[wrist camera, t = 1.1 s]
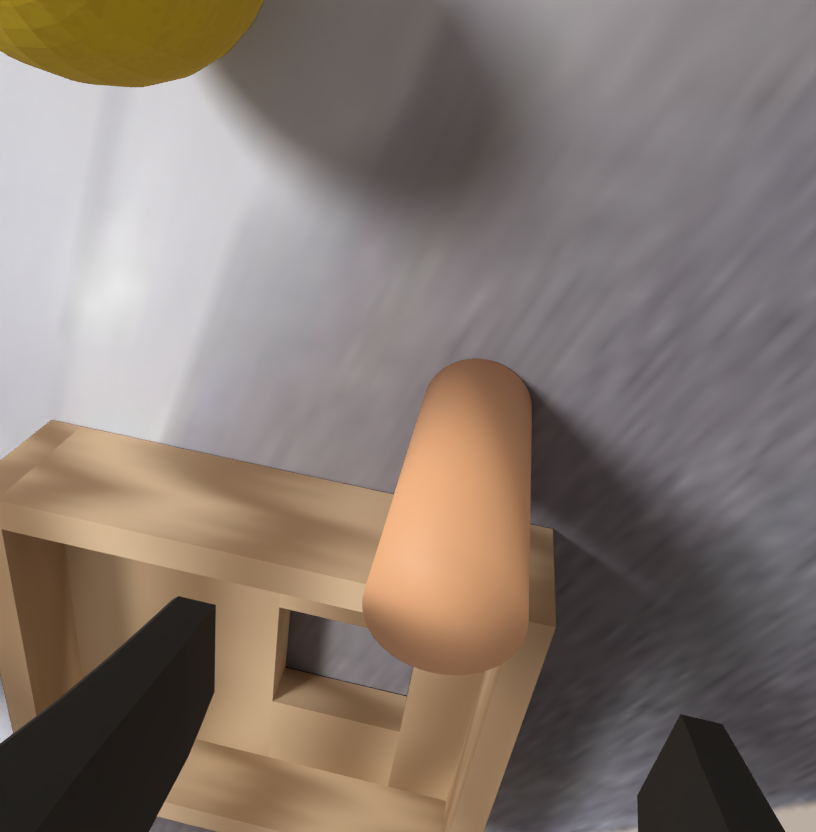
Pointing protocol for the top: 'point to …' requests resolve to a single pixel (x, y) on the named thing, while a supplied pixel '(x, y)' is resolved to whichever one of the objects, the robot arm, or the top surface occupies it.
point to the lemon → (123, 37)
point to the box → (248, 633)
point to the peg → (458, 528)
